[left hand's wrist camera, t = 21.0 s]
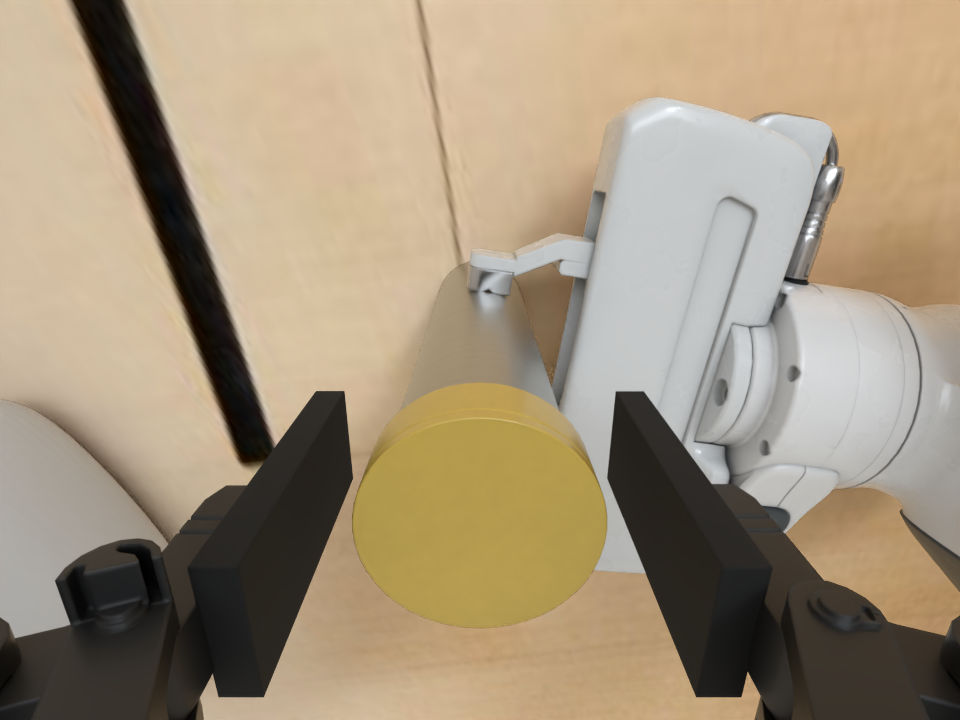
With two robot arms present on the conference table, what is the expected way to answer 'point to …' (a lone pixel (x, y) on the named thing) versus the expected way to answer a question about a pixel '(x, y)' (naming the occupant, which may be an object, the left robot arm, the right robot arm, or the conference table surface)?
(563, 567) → the lid
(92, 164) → the conference table surface
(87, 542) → the projector
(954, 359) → the right robot arm
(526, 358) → the bottle
